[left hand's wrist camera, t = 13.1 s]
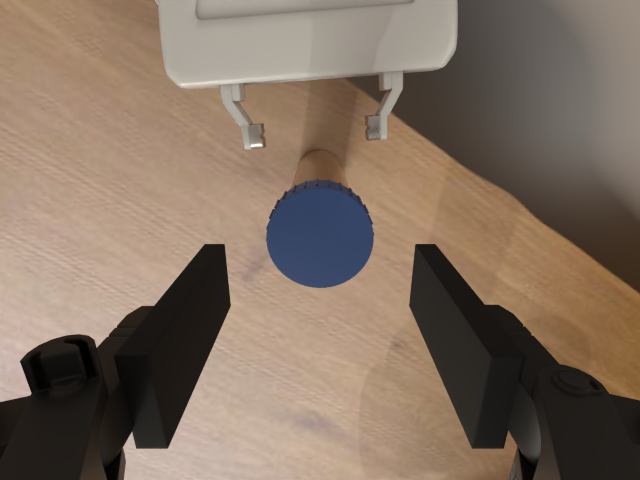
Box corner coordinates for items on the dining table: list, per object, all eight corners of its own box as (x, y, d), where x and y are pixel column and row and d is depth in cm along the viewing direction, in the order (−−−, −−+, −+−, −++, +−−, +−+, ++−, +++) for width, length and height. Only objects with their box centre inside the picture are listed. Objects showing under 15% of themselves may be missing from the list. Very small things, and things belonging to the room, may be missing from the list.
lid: (283, 165, 19) (280, 172, 17) (384, 194, 19) (390, 204, 17) (260, 258, 20) (254, 274, 19) (352, 283, 21) (355, 300, 19)
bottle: (304, 144, 34) (288, 184, 17) (348, 157, 35) (375, 208, 18) (292, 188, 36) (267, 264, 19) (334, 200, 36) (348, 285, 19)
